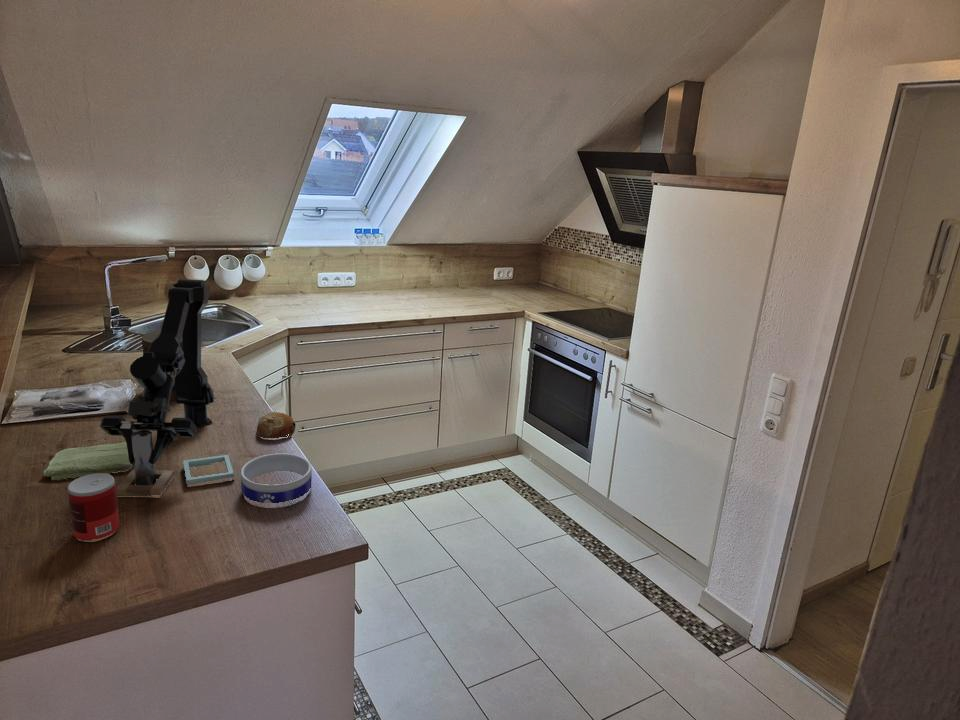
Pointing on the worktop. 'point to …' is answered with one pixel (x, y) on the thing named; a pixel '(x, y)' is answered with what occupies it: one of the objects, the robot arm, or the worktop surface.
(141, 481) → the steel pin
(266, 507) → the worktop surface
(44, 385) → the worktop surface
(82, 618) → the worktop surface
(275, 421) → the bread roll
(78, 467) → the washcloth
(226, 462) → the cradle tray
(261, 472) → the dog bowl
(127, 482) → the walnut collar
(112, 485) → the canned food
